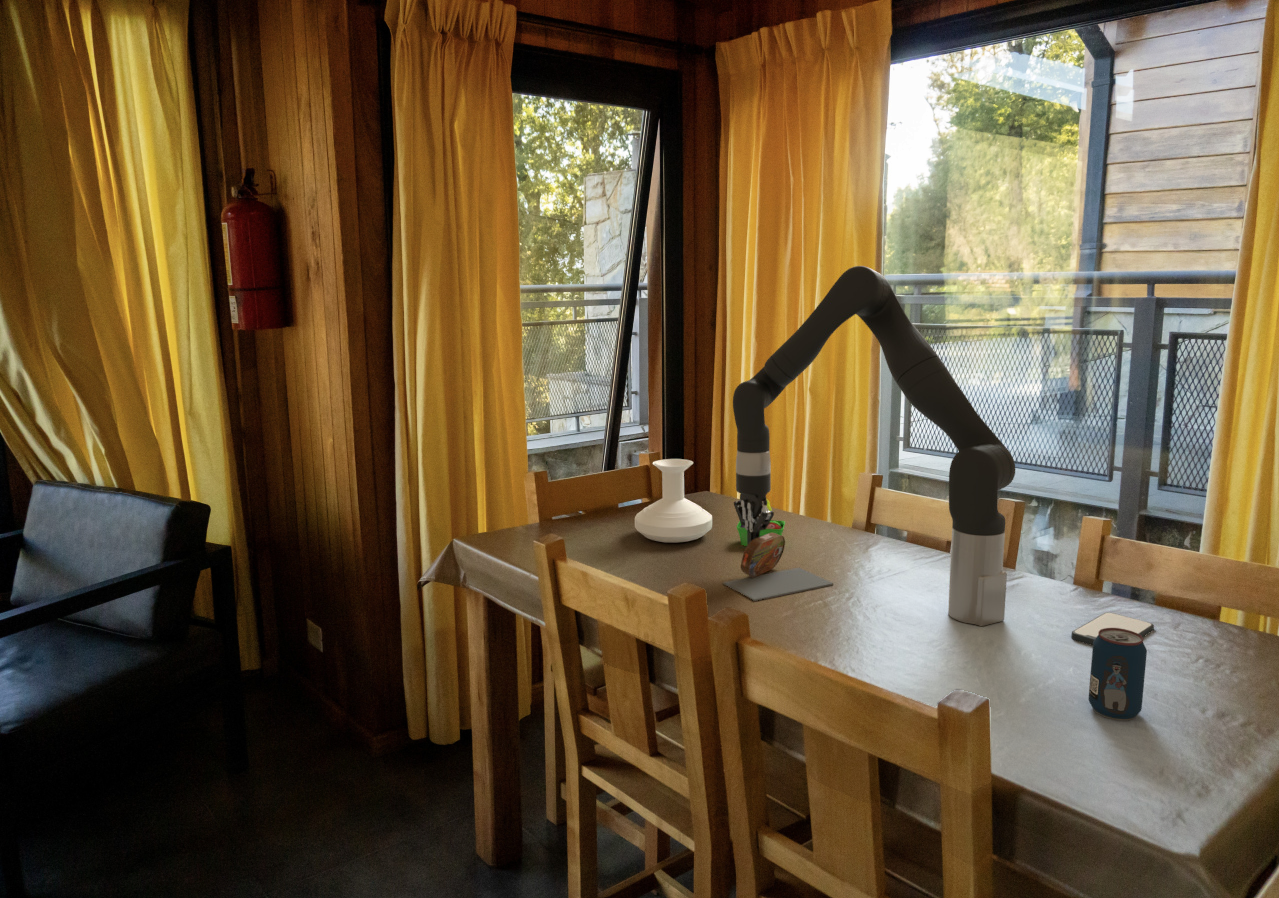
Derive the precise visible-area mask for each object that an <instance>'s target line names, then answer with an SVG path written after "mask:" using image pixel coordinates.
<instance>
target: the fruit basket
mask: <svg viewBox="0 0 1279 898" xmlns="http://www.w3.org/2000/svg"><path fill="white" fill-rule="evenodd" d="M767 508H768V510H769V511H773V509H772V507H771V502H770V501H769V499H767ZM785 524H786V521H785V520H772V519H771V521H770V523H769V524H768V526H767V528H766V529H765V530H761V531H760V537H761V536H763V535H766V534H768V533H772V532H773V533H776V534H778V535H781V536H783V533H784V529H785ZM736 530H737V532H738V535H739V540H740V545H741V546H742V545H744V546H743V547H747V530H746V529H745V526H742V525H741V523H740V520H738V523H737V525H736Z"/></svg>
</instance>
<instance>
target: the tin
mask: <svg viewBox="0 0 1279 898" xmlns="http://www.w3.org/2000/svg"><path fill="white" fill-rule="evenodd" d="M785 545H786V539H785V537H784V535H782V536H781V535H778V534H776V533H773V532H772V533H768V534H766V535H763V536H761V537H758V538H755V539H753V540H752V541H751V542H750V543H749V544H748V545H747V546H745V548H744V551H743V555H742V557H741V564H740V570H741V572H742V573H744V574H745V575H747V576H749V577H756V576H758V575H763V574H766V573H767V572H769V571H772V570H774V568H775V567H777V565H778V563H779V562H780V559H781V558H782V555H783V554H784V550H785Z"/></svg>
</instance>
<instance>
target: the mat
mask: <svg viewBox="0 0 1279 898" xmlns="http://www.w3.org/2000/svg"><path fill="white" fill-rule="evenodd" d="M722 584H723V585H724V586H726V587H727V586H728V587H727V588H729V587H730V588H729V589H731V588H732V589H731V590H733V589H734V590H733V591H735V590H736V591H738V592H740V593H742V594H744V595H745V596H747V597H749V598H750V599H749V598H748V599H749V600H751V599H752V600H753V602H758V600H759V601H762V599H764V600H768V599H771V598H776V597H782V596H783V597H784V596H787V595H791V594H797V593H801V592H802V593H803V592H806V591H811V590H817V589H820V588H825V587H829V586H834V582H832V581H829V580H827V579H825V578H823V577H821V576H819V575H816V574H815V573H813V572H810V571H809V570H808V571H807V570H805V569H804V568H801V567H794V568H791V569H785V570H780V571H774V572H768V573H763V574H761V575H758V576H756V577H751V576H749V577H743V578H739V579H732V580H727V581H723V582H722ZM736 591H735V592H736ZM738 592H737V593H738ZM740 593H739V594H740ZM742 594H741V595H742ZM744 595H743V596H744ZM745 596H744V597H745ZM747 597H746V598H747ZM752 600H751V601H752Z"/></svg>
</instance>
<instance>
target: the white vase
mask: <svg viewBox="0 0 1279 898" xmlns="http://www.w3.org/2000/svg"><path fill="white" fill-rule="evenodd" d="M693 464H694V461H692V460H689V459H682V458H667V459H666V458H665V459H659V460H654V461H653V462H652V465H653V466H655V467H656V468H657V469H658V470H659V471H661V475H662V476H661V478H662V480H661V483H662V484H661V485H662V486H661V488H662V498H660V499H658V500H656V501H654V502H653V503H651V504H649V505H648V506H646V507H644V508H643V509H642V510H641V511H639V512H637V513H636V515H635V517H634V529H636V530H637V532H638V533H640V534H641V535H643V536H644V537H645V538H647V539H649V540H651V541H656V542H660V543H661V542H662V543H684V542H685V543H686V542H690V541H694V540H698V539H699V538H701V537H703V536H705V535H706V534H707V533H708V532H709V531H711V530H712V529H713V515H712V514H711V513H710V512H708V511H707V510H705V509H704V508H703V507H702V506H700V505H699V504H697V503H695V502H693V501H691V500H689V499H687V498H686V497H685V476H684V475H685V471H686V470H688V469H689V468H690V467H691V466H692V465H693Z"/></svg>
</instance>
